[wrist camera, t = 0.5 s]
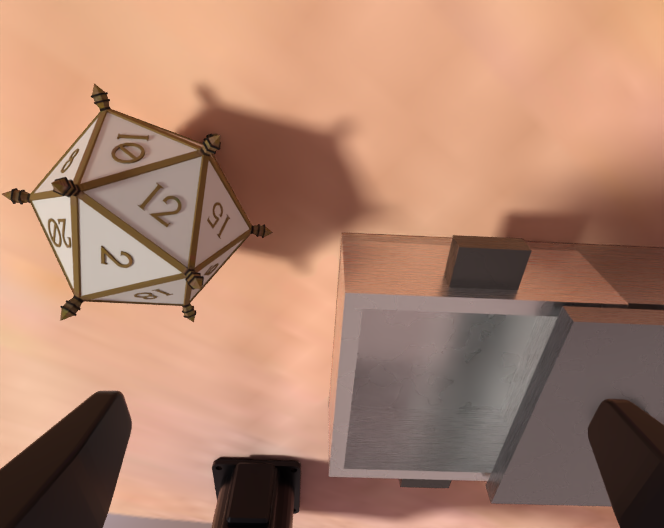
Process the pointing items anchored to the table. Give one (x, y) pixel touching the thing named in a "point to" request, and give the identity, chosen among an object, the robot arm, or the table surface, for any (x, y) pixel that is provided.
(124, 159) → the game die
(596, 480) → the lid
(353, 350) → the grey rectangular box
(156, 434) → the table surface
